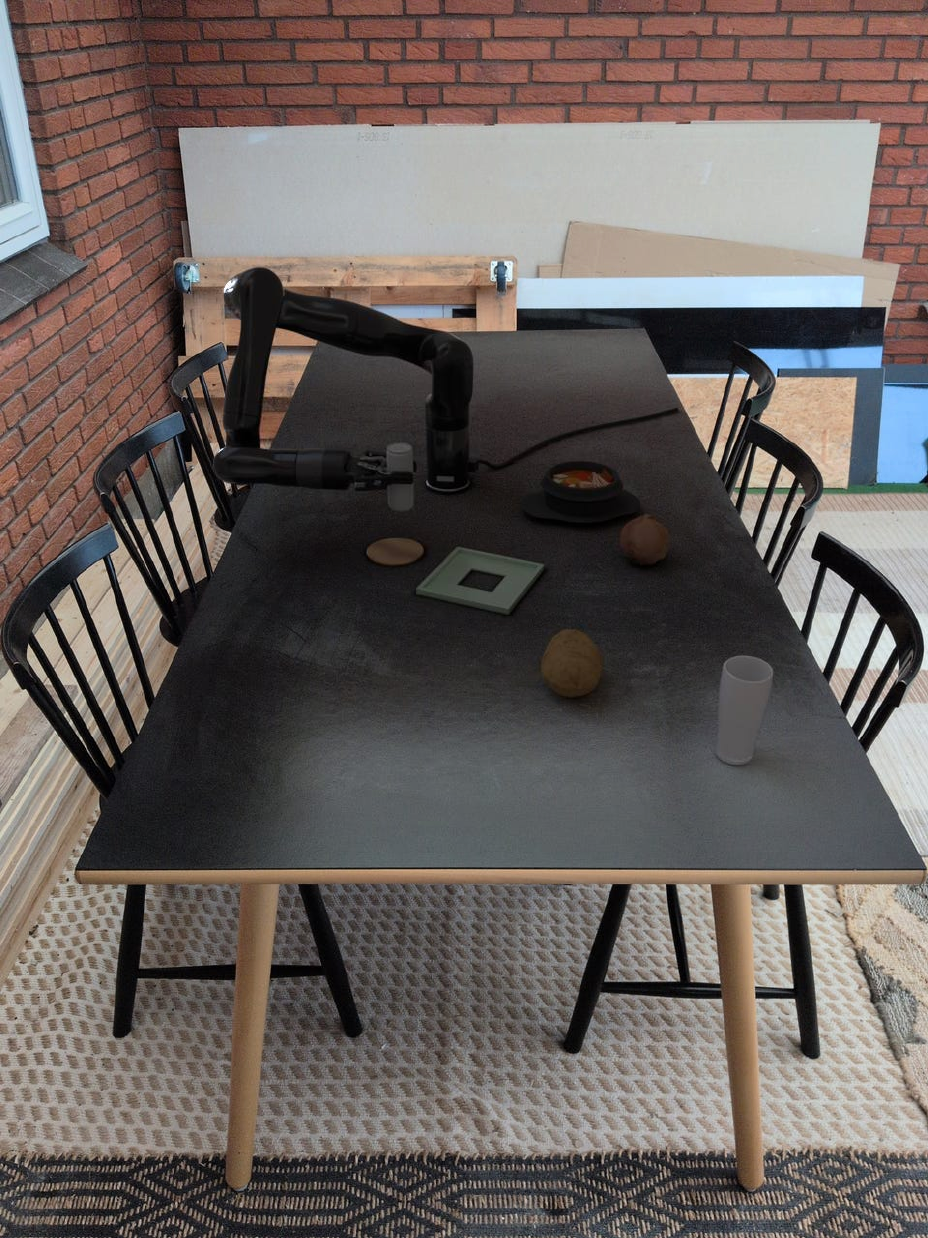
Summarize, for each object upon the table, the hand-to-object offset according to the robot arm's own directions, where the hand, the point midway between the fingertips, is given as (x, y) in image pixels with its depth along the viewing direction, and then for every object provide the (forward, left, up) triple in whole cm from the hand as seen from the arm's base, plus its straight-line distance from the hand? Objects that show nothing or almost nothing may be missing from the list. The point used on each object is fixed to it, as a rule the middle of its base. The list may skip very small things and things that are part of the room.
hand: (414, 472), depth 191 cm
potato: (+30, +42, -18) cm, 54 cm away
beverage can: (+1, -3, -7) cm, 8 cm away
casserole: (-31, +23, -18) cm, 43 cm away
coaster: (+1, -4, -17) cm, 18 cm away
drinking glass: (+37, +69, -18) cm, 80 cm away
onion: (-15, +41, -18) cm, 47 cm away
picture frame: (+5, +16, -17) cm, 24 cm away
